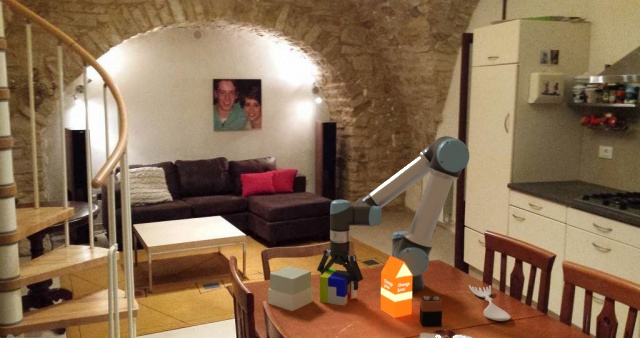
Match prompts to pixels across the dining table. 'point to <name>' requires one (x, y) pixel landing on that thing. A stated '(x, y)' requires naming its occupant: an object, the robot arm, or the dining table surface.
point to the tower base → (290, 298)
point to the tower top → (290, 280)
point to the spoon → (491, 305)
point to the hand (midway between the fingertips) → (339, 293)
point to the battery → (431, 311)
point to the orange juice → (396, 288)
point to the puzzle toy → (335, 287)
